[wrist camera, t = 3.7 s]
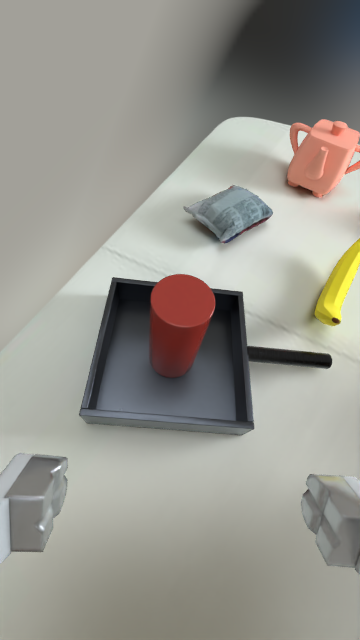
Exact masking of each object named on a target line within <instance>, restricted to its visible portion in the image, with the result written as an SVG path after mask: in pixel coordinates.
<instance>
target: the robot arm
mask: <svg viewBox="0 0 360 640" xmlns="http://www.w3.org/2000/svg"><path fill="white" fill-rule="evenodd" d="M67 468H68V459H67V458H66V457H60V456H49V455H39V454H35V455H34V454H25V453H19V454H17V455H15V456H14V457H13V459H12V460H11V461H10V463H9V464H8V465H7V466H6V468H5V469H4V470H3V472H2V473H1V474H0V563H1V562H3V561H4V560H5V559H6V558H7V557H8V556H9V555H10V554H11V551H15V552H43V550H44V548H45V546H46V543H47V541H48V539H49V536H50V534H51V532H52V529H53V518H55V517H56V516H57V515H58V514H59V513H60V511H61V508H62V506H63V503H64V499H65V496H66V491H67V478H66V477H65V475H64V474H65V472H66V470H67ZM306 485H307V487H308V490H307V491H306V492H305V493H304V494H303V496H302V500H301V509H302V514H303V518H304V520H305V523H306V525H307V527H308V528H309V529H310V530H311V531H312V532H313V533H315V534H316V541H315V542H316V544H317V546H318V548H319V550H320V552H321V554H322V556H323V558H324V560H325V562H326V564H327V565H328V566H340V567H352V568H355V570H356V571H357V572H358V573H359V574H360V481H359V480H358V479H357V478H355V477H354V476H334V475H317V474H310V475H309V476H308V477H307V481H306Z"/></svg>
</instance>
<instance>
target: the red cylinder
mask: <svg viewBox="0 0 360 640" xmlns="http://www.w3.org/2000/svg"><path fill="white" fill-rule="evenodd" d="M214 309H215V298H214V295H213V292H212V291H211V289H210V288H209V286H208V285H207V284H206V283H204V282H203V281H202V280H200V279H198V278H196V277H193V276H190V275H185V274H176V275H171V276H168V277H165V278H163V279H162V280H160V281H159V282H158V283H157V284H156V285H155V287H154V288H153V290H152V293H151V302H150V340H149V360H150V364H151V366H152V367H153V369H154V370H155V371H156V372H157V373H158V374H160V375H162V376H164V377H169V378H176V377H180V376H182V375H184V374H186V373H187V372H188V371H189V370H190V369H191V367H192V365H193V362H194V360H195V357H196V355H197V352H198V350H199V347H200V345H201V342H202V340H203V337H204V335H205V332H206V330H207V327H208V325H209V322H210V320H211V317H212V315H213V312H214Z"/></svg>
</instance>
